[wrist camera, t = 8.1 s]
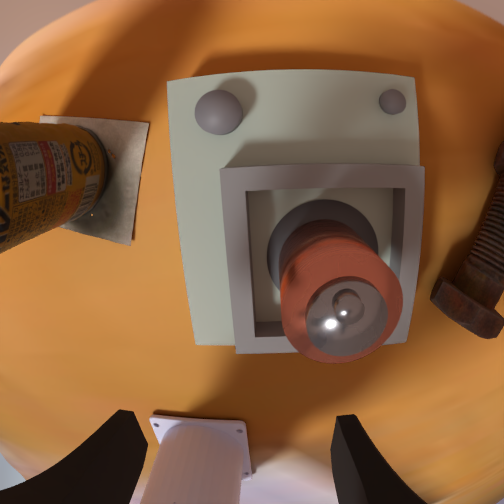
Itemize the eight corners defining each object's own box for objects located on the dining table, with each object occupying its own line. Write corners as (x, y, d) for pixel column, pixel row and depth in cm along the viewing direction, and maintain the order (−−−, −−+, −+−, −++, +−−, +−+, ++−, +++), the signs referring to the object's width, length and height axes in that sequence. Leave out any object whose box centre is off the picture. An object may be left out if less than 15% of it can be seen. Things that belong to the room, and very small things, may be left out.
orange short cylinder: (370, 292, 15) (415, 366, 10) (288, 311, 16) (296, 396, 10) (359, 210, 14) (414, 251, 8) (268, 230, 15) (267, 286, 9)
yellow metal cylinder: (42, 115, 16) (-107, 120, 4) (150, 123, 16) (-17, 104, 5) (32, 219, 18) (-100, 282, 7) (132, 244, 18) (-3, 356, 7)
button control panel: (390, 314, 19) (412, 348, 15) (203, 322, 20) (190, 360, 16) (396, 85, 14) (427, 71, 11) (180, 90, 15) (156, 74, 11)
